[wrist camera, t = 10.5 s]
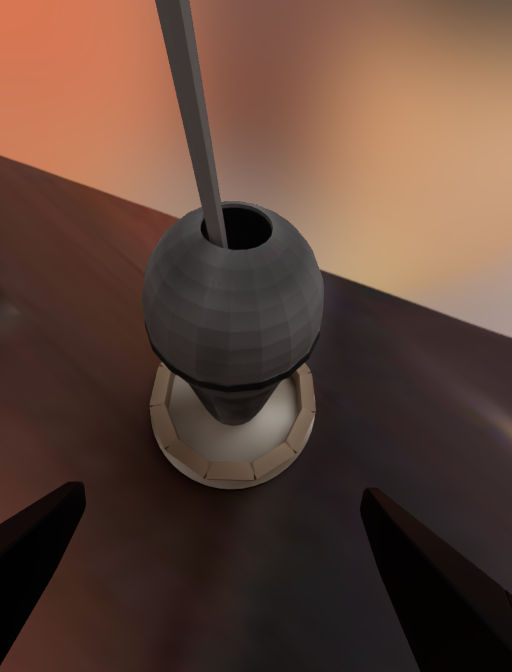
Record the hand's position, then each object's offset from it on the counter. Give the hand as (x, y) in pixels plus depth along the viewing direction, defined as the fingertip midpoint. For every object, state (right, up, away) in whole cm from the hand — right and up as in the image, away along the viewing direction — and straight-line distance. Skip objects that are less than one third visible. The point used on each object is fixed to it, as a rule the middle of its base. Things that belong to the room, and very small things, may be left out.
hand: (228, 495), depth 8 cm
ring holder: (-1, 0, +13) cm, 13 cm away
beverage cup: (-1, 0, +12) cm, 12 cm away
